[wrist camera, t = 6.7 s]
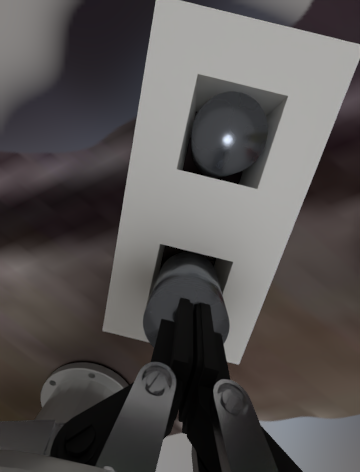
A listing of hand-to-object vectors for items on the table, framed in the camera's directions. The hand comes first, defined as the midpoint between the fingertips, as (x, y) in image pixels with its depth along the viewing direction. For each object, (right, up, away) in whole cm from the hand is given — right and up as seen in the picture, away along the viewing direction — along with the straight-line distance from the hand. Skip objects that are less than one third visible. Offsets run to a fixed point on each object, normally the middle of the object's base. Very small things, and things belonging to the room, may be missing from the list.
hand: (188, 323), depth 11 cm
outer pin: (+3, +13, +8) cm, 15 cm away
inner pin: (0, +1, +6) cm, 6 cm away
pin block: (+2, +7, +9) cm, 12 cm away
